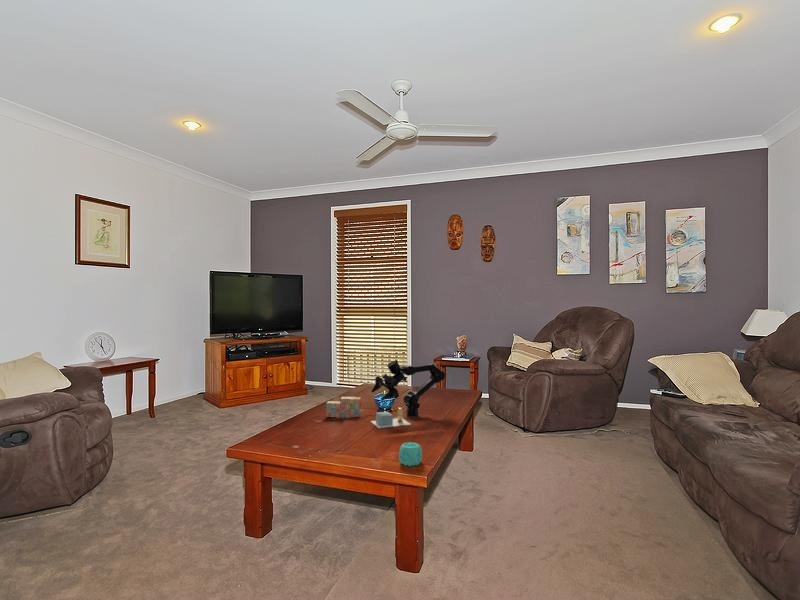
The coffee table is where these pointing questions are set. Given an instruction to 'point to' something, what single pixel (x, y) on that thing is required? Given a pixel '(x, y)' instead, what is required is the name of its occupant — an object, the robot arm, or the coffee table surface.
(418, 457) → the decorative dice
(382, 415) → the block
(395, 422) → the board
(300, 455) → the coffee table surface
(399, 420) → the pin
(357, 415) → the stack of blocks
